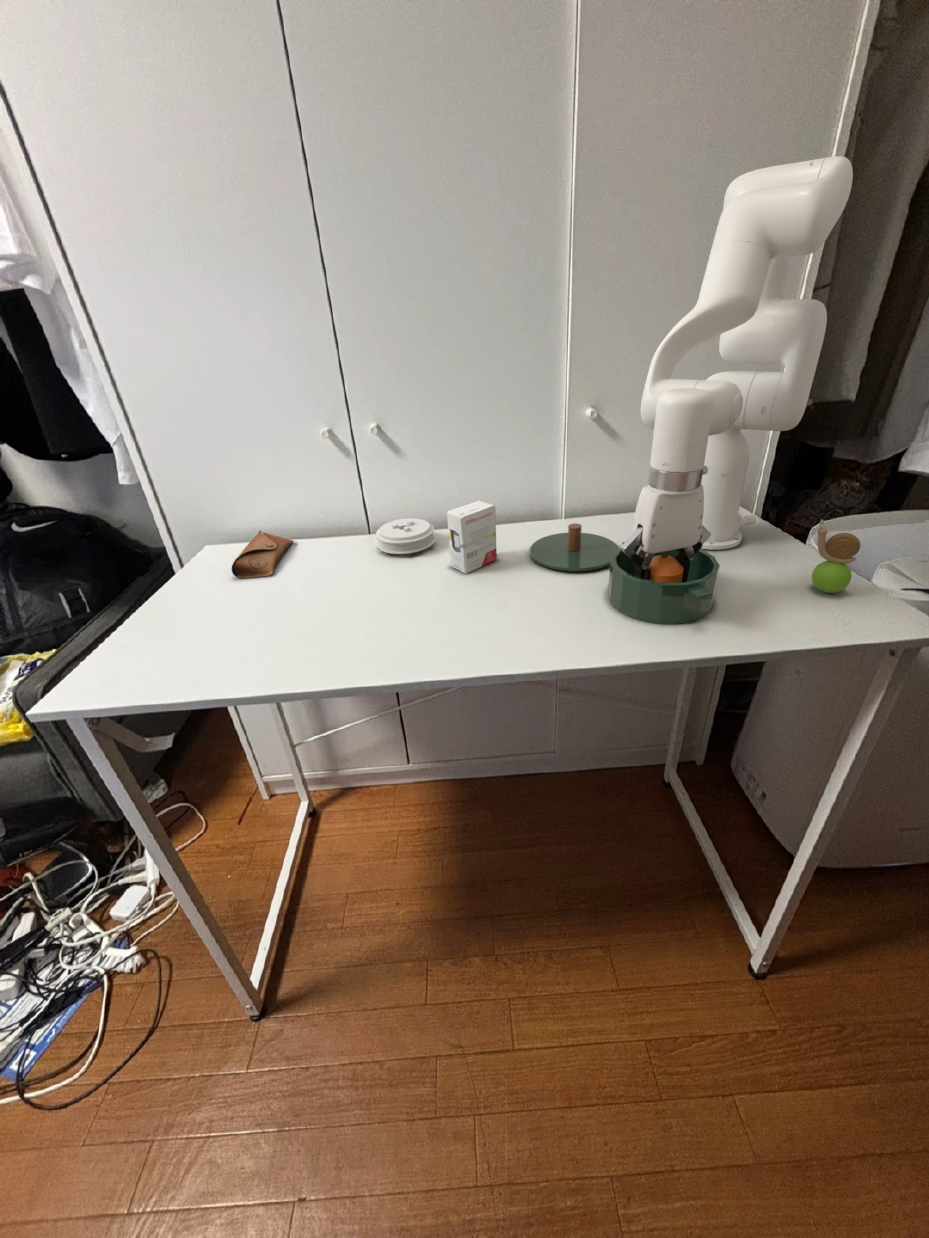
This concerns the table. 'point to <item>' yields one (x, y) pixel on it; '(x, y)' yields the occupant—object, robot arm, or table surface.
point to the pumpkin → (666, 569)
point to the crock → (663, 590)
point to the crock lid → (573, 550)
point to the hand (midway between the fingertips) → (660, 582)
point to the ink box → (472, 536)
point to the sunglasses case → (260, 556)
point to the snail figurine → (834, 560)
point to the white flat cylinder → (405, 536)
